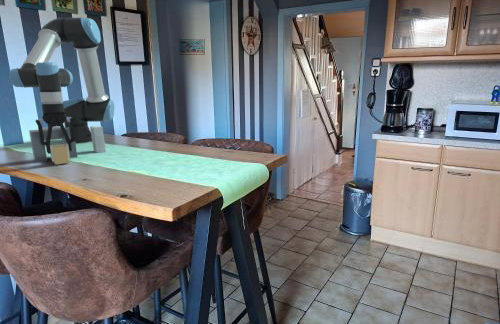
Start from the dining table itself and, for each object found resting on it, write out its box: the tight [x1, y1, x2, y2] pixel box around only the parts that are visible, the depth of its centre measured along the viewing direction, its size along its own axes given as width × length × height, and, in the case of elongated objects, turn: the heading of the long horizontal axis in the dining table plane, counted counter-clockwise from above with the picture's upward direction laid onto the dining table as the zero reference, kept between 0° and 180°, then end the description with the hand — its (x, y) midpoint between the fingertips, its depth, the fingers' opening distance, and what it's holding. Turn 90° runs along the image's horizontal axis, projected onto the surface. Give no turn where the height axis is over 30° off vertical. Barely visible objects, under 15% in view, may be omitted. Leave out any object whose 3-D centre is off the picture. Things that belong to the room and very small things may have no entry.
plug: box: [52, 144, 70, 166], centre depth 143 cm, size 5×16×7 cm, turn 36°
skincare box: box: [89, 125, 107, 153], centre depth 161 cm, size 6×4×12 cm
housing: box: [28, 126, 78, 163], centre depth 146 cm, size 16×6×14 cm, turn 127°
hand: (60, 159), depth 138 cm, fingers closed on plug, 5 cm apart
